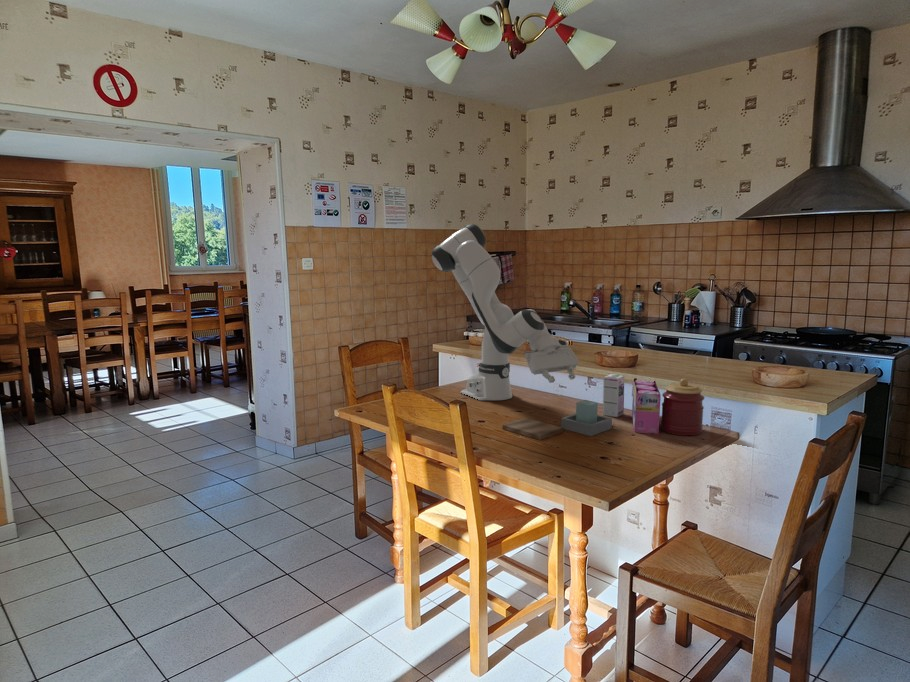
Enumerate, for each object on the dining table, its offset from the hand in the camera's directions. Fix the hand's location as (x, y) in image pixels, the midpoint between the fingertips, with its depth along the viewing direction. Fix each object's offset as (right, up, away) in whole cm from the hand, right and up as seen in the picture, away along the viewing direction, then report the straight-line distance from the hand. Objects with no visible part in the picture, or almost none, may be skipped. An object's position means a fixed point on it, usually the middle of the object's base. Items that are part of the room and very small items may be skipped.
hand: (563, 380), depth 203 cm
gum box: (+28, -15, -2) cm, 32 cm away
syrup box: (+20, -13, +9) cm, 26 cm away
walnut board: (-12, -16, -9) cm, 22 cm away
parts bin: (+7, -16, -7) cm, 18 cm away
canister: (+38, -16, -9) cm, 42 cm away
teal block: (+7, -16, -7) cm, 18 cm away
